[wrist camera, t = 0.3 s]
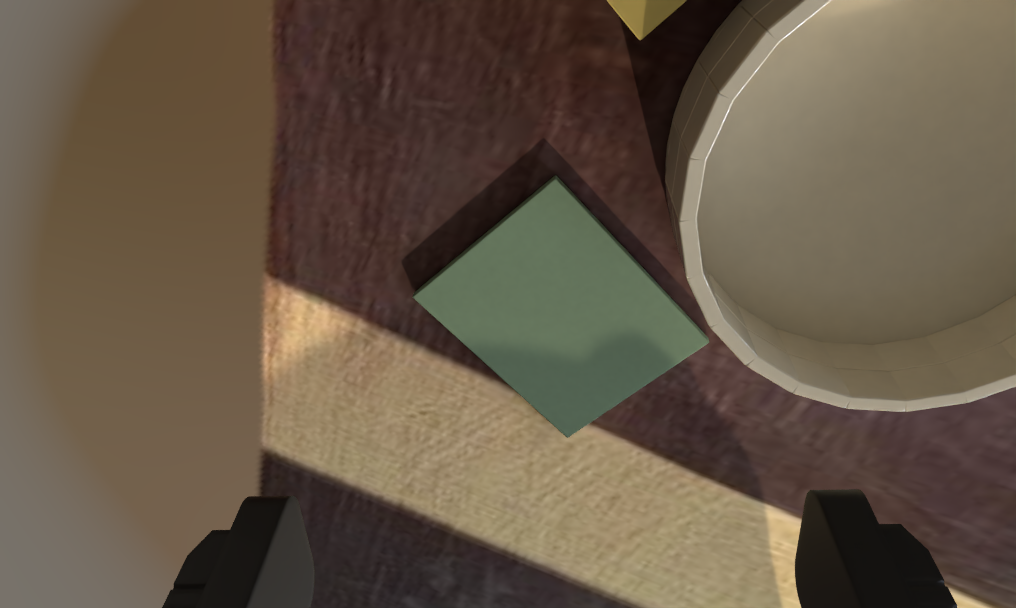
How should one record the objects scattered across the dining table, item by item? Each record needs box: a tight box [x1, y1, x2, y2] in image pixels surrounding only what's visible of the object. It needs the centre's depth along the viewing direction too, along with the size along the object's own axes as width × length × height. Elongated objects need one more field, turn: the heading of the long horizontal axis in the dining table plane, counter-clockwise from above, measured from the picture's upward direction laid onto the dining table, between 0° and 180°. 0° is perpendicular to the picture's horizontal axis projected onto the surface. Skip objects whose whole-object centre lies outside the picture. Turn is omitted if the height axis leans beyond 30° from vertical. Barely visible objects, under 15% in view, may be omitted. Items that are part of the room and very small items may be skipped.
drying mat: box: [413, 175, 709, 438], centre depth 35 cm, size 10×8×1 cm
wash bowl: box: [665, 0, 1016, 412], centre depth 29 cm, size 17×17×4 cm
